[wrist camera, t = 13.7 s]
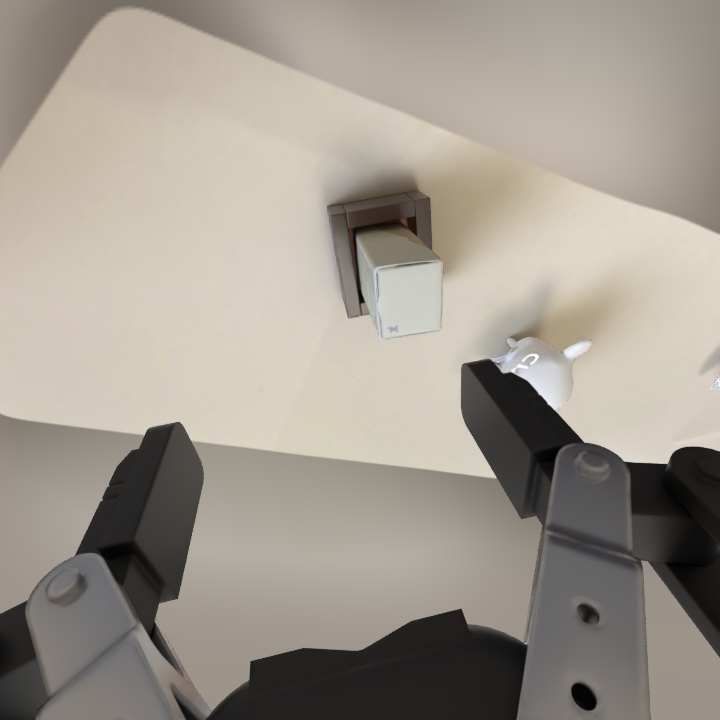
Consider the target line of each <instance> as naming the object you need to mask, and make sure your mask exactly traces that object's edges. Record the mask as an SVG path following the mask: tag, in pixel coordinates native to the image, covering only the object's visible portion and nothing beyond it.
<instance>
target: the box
mask: <svg viewBox="0 0 720 720" xmlns="http://www.w3.org/2000/svg"><path fill="white" fill-rule="evenodd" d="M353 242H354V253H355V262H356V271H357V279H358V284H359V286H360V289H361V292H362V294H363V297H364V300H365V302H366V305H367V307H368V310H369V313H370V315H371V318H372V320H373V323H374V325H375V328H376V330H377V333H378V335H379V338H380V339H381V340H385V339H392V338H400V337H406V336H413V335H418V334H425V333H430V332H436V331H440V330H441V327H442V305H443V261H442V259H440V258H439V257H438V256H437V255H436V254H435V253H434V252H433V251H432V250H431V249H430V248H428V247H427V246H426V245H425V244H424V243H423V242H422V241H421V240H420V239H419V238H418V237H417V236H416V235H415V234H414V233H412V232H411V231H410V230H409V229H408V228H407V227H406V226H405V225H404V224H403V223H401V222H397V223H385V224H376V225H368V226H361V227H355V228H354V229H353Z"/></svg>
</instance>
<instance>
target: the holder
mask: <svg viewBox="0 0 720 720" xmlns="http://www.w3.org/2000/svg"><path fill="white" fill-rule="evenodd" d="M327 210H328V215H329V221H330V227H331V232H332V238H333V244H334V249H335V255H336V260H337V266H338V272H339V277H340V283H341V288H342V294H343V300H344V304H345V308H346V312H347V316H348V318H353V317H358V316H361V315H362V316H364V315H369V314H370V313H369V310H368V307H367V305H366V302H365V300H364V297H363V294H362V292H361V289H360V286H359V284H358V279H357V271H356V262H355V253H354V242H353V229H354V228H355V227H361V226H368V225H376V224H385V223H397V222H401V223H403V224H404V225H405V226H406V227H407V228H408V229H409V230H410V231H411V232H412V233H414V234H415V235H416V236H417V237H418V238H419V239H420V240H421V241H422V242H423V243H424V244H425V245H426V246H427V247H428V248H430V249H431V250H432V234H431V210H430V197H428V196H426V195H425V194H423V193H422V192H420V191H419V190H416V191H411V192H405V193H399V194H394V195H388V196H383V197H377V198H372V199H366V200H360V201H355V202H349V203H344V204H338V205H333V206H327Z"/></svg>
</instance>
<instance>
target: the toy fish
mask: <svg viewBox="0 0 720 720" xmlns="http://www.w3.org/2000/svg"><path fill="white" fill-rule="evenodd" d="M719 388H720V375H719V376H718V377H717V379H716V380H715V381H714V383H713V385H712V386H711V388H710V390H709V391H714V390H717V389H719Z"/></svg>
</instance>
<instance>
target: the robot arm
mask: <svg viewBox="0 0 720 720" xmlns="http://www.w3.org/2000/svg"><path fill="white" fill-rule="evenodd" d="M461 410H462V415H463V419H464V421H465V424H466V426H467V428H468V429H469V431H470V433H471V434H472V436H473V438H474V440H475V441H476V443H477V445H478V446H479V448H480V450H481V451H482V453H483V455H484V457H485V458H486V460H487V462H488V463H489V465H490V467H491V468H492V470H493V472H494V473H495V475H496V477H497V479H498V480H499V482H500V483H501V485H502V487H503V489H504V490H505V492H506V494H507V496H508V497H509V499H510V500H511V502H512V504H513V506H514V507H515V509H516V511H517V513H518V514H519V516H520V517H521V519H524V518H528V517H533V516H537V517H538V519H539V521H540V522H541V524H542V525H543V526H542V532H541V537H540V543H539V549H538V556H537V562H536V568H535V574H534V580H533V586H532V593H531V598H530V604H529V610H528V615H527V621H526V626H525V632H524V638H523V642H521V641H520V640H518V639H516V638H514V637H512V636H510V635H508V634H506V633H504V632H501V631H498V630H495V629H492V628H489V627H484V626H478V625H469V624H467V623H466V620H465V617H464V615H463V612H462V609H458V610H454V611H450V612H446V613H442V614H438V615H434V616H430V617H426V618H422V619H418V620H414V621H411V622H409V623H407V624H406V625H404V626H402V627H401V628H399V629H397V630H395V631H394V632H392V633H390V634H389V635H387V636H385V637H384V638H382V639H380V640H379V641H377V642H375V643H373V644H372V645H370V646H368V647H367V648H365V649H363V650H359V651H346V650H328V649H312V648H302V649H298V650H294V651H290V652H286V653H282V654H278V655H274V656H270V657H266V658H262V659H258V660H254V661H251V662H250V663H251V664H250V679H249V681H248V682H246V683H244V684H243V685H241V686H240V687H238V688H237V689H236V690H234V691H233V692H232V693H231V694H229V695H228V696H227V697H226V698H225V699H224V700H223V701H222V702H221V703H220V704H219V705H218V706H217V707H216V708H215V709H214V710H213V711H211V709H210V708H209V706H208V705H207V703H206V702H205V701H204V699H203V698H202V697H201V695H200V694H199V692H198V691H197V689H196V688H195V686H194V685H193V683H192V681H191V680H190V678H189V676H188V674H187V672H186V671H185V669H184V667H183V665H182V664H181V662H180V660H179V658H178V656H177V655H176V653H175V651H174V649H173V648H172V646H171V644H170V642H169V641H168V639H167V637H166V635H165V633H164V632H163V630H162V628H161V627H160V625H159V623H158V622H157V620H156V619H155V617H156V613H157V609H158V605H159V603H162V602H167V601H170V600H175V599H178V595H179V591H180V586H181V582H182V577H183V573H184V568H185V563H186V559H187V554H188V550H189V545H190V540H191V536H192V532H193V527H194V522H195V518H196V513H197V508H198V504H199V499H200V495H201V490H202V485H203V479H204V477H203V476H204V474H203V466H202V463H201V460H200V458H199V456H198V454H197V452H196V450H195V448H194V446H193V444H192V442H191V440H190V438H189V436H188V434H187V432H186V430H185V428H184V426H183V425H182V424H181V423H180V422H175V423H170V424H165V425H160V426H156V427H151V428H149V429H148V430H147V432H146V434H145V436H144V438H143V441H142V443H141V445H140V448H139V449H136V450H132V451H131V452H130V453H129V454H128V455H127V456H126V457H125V458H124V460H123V461H122V462H121V463H120V464H119V465H118V466H117V468H116V470H115V472H114V474H113V476H112V478H111V480H110V483H109V487H107V489H106V491H105V493H104V495H103V501H101V502H100V504H99V506H98V508H97V510H96V512H95V514H94V516H93V519H92V521H91V523H90V525H89V527H88V530H87V531H86V534H85V535H84V538H83V540H82V542H81V544H80V547H79V548H78V550H77V553H76V555H75V556H74V557H71V558H70V559H67V560H65V561H64V562H62V563H61V564H59V565H58V566H56V567H55V568H54V569H52V570H51V571H50V572H49V573H48V574H47V575H46V576H44V578H43V579H42V580H41V581H40V582H39V583H38V584H37V586H36V587H35V588H34V590H33V591H32V593H31V595H30V597H29V599H28V600H27V601H25V602H24V603H22V604H20V605H17V606H15V607H13V608H12V609H9V610H8V611H5V612H4V613H1V614H0V720H651V716H650V696H649V677H648V657H647V638H646V617H645V598H644V577H643V567H642V563H641V560H643V561H648V562H649V563H650V565H651V566H652V567H653V569H654V570H655V571H656V573H657V574H658V575H659V577H660V578H661V579H662V581H663V582H664V583H665V585H666V586H667V587H668V589H669V590H670V591H671V593H672V594H673V595H674V597H675V598H676V599H677V601H678V602H679V603H680V605H681V606H682V607H683V609H684V610H685V612H686V613H687V614H688V616H689V617H690V618H691V620H692V621H693V622H694V623H695V625H696V626H697V628H698V629H699V630H700V632H701V633H702V634H703V636H704V637H705V638H706V640H707V641H708V642H709V644H710V645H711V646H712V648H713V649H714V650H715V652H716V653H717V654H718V656H719V657H720V452H719V451H716V450H713V449H709V448H704V447H684V448H680V449H678V450H676V451H675V452H674V453H673V454H672V456H671V457H670V460H669V462H668V464H653V463H632V462H624V461H623V460H622V459H621V458H620V457H619V456H618V455H617V454H615V453H614V452H612V451H610V450H608V449H606V448H604V447H601V446H599V445H595V444H590V443H584V442H583V441H582V439H581V438H580V437H579V436H578V435H577V434H576V433H575V432H574V431H573V430H572V429H571V427H570V426H569V425H568V424H567V423H566V422H565V421H564V420H563V419H562V418H561V417H560V416H559V414H558V413H557V412H556V411H555V410H554V409H553V408H552V407H551V406H550V405H548V403H547V401H546V400H545V399H544V398H543V397H542V396H541V395H539V394H538V392H537V390H536V389H535V388H534V387H533V386H532V385H531V384H530V383H529V382H528V381H527V380H525V379H524V378H522V377H520V376H518V375H516V374H514V373H512V372H508V373H502V372H501V371H500V369H499V368H498V367H497V366H496V365H495V363H494V362H493V361H492V360H491V359H484V360H479V361H474V362H469V363H464V364H463V365H462V368H461Z"/></svg>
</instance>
